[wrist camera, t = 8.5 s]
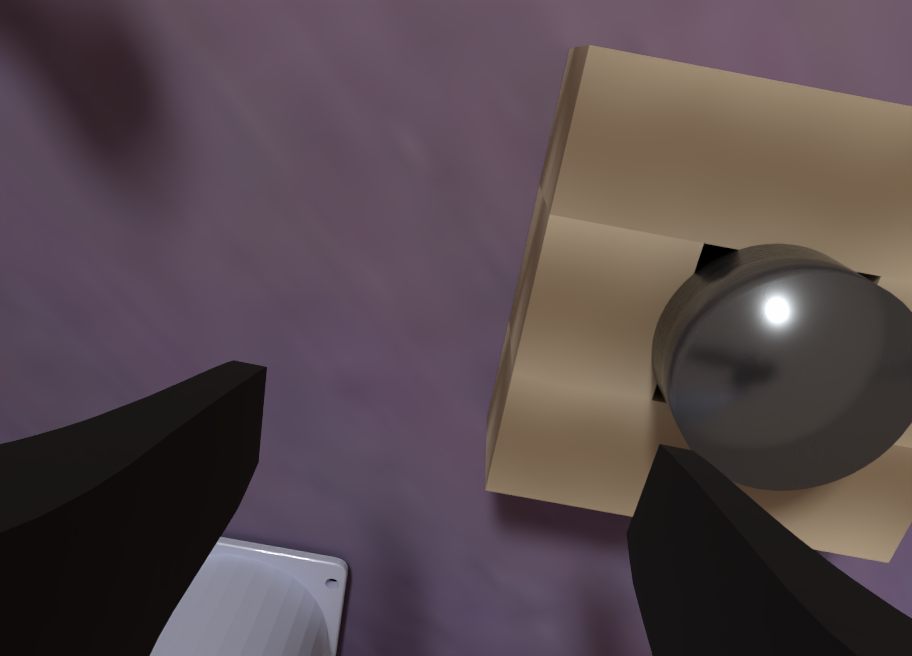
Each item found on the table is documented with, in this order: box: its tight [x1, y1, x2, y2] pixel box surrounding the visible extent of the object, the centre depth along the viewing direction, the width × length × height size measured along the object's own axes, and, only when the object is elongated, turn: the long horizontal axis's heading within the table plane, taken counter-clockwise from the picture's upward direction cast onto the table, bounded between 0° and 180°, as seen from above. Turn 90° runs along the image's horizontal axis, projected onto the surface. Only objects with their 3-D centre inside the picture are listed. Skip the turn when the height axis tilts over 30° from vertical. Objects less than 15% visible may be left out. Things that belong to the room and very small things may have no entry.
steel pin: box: [652, 244, 912, 491], centre depth 17 cm, size 5×5×6 cm
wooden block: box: [485, 45, 912, 563], centre depth 18 cm, size 12×12×4 cm
